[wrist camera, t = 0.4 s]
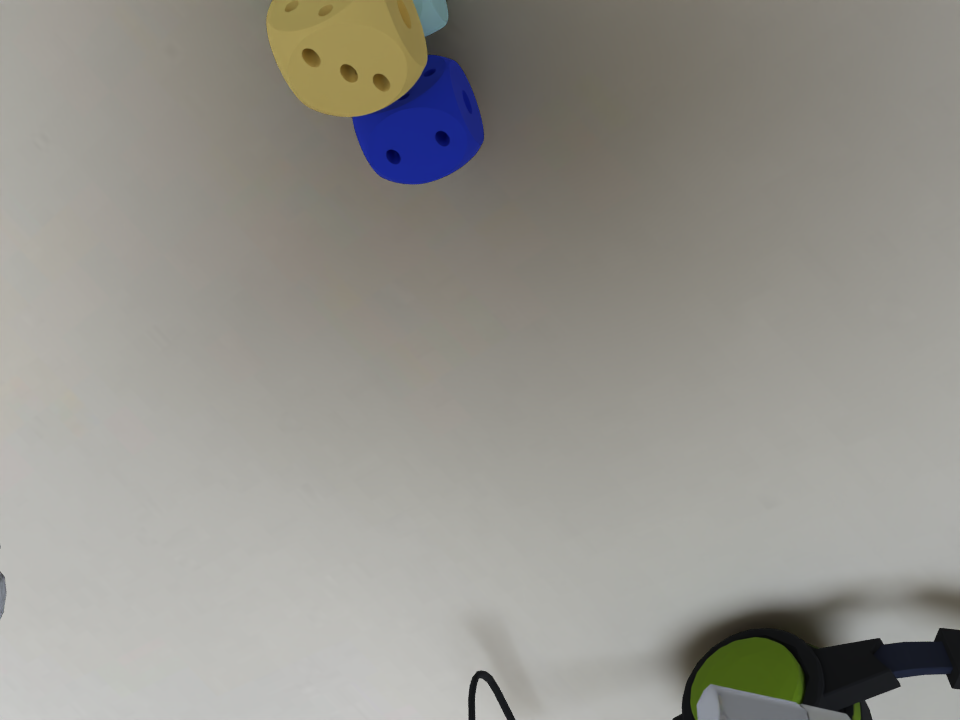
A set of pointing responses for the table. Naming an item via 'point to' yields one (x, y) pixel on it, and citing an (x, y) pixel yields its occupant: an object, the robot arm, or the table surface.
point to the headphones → (803, 670)
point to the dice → (380, 80)
